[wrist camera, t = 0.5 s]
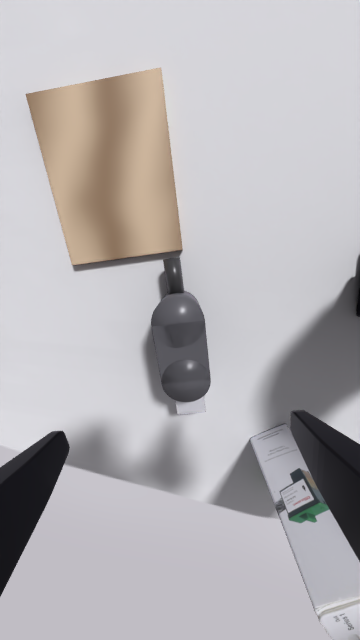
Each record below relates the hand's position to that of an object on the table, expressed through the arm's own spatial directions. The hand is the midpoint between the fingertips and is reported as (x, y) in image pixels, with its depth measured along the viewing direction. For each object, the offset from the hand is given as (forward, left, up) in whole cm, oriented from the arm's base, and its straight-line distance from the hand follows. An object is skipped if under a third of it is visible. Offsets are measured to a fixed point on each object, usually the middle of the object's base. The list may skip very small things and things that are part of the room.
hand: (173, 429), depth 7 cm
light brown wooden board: (+4, -14, -12) cm, 18 cm away
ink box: (-10, +17, -12) cm, 23 cm away
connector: (0, 0, -12) cm, 12 cm away
